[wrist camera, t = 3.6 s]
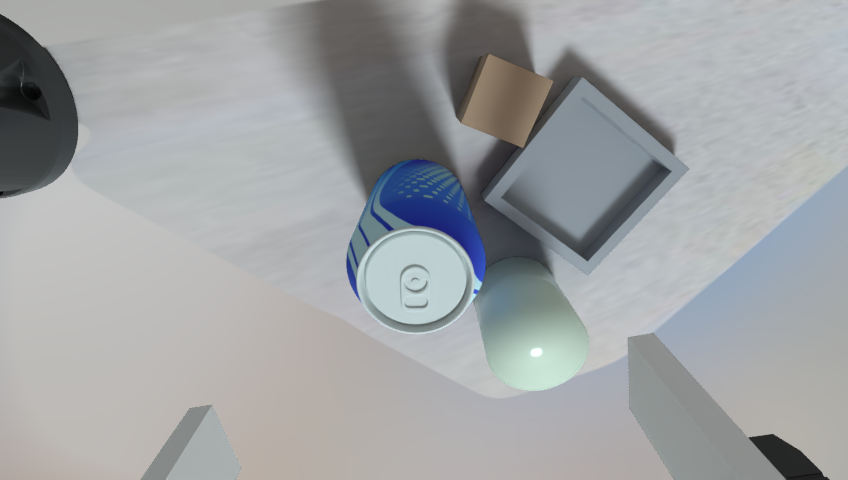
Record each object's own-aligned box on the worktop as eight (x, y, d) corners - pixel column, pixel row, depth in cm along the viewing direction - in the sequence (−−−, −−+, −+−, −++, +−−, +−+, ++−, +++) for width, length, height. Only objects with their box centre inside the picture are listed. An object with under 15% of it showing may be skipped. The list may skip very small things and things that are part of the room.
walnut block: (456, 117, 36) (460, 123, 31) (480, 56, 34) (488, 53, 30) (510, 138, 37) (522, 147, 32) (536, 80, 35) (553, 81, 30)
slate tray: (480, 193, 38) (484, 200, 36) (573, 77, 35) (582, 77, 33) (579, 265, 41) (588, 275, 39) (674, 163, 37) (689, 168, 35)
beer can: (352, 210, 39) (309, 294, 24) (410, 136, 37) (402, 178, 22) (425, 263, 41) (426, 372, 26) (484, 196, 38) (523, 273, 23)
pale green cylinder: (457, 302, 42) (465, 358, 34) (509, 241, 40) (532, 285, 32) (519, 343, 44) (542, 406, 36) (572, 286, 42) (610, 339, 33)
